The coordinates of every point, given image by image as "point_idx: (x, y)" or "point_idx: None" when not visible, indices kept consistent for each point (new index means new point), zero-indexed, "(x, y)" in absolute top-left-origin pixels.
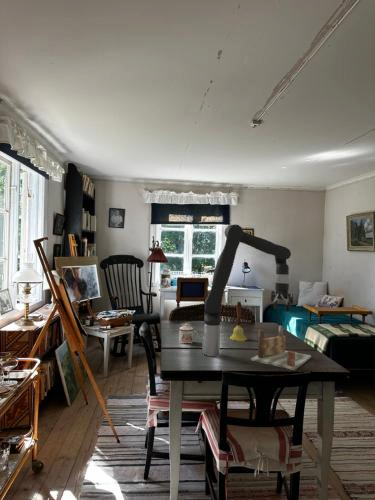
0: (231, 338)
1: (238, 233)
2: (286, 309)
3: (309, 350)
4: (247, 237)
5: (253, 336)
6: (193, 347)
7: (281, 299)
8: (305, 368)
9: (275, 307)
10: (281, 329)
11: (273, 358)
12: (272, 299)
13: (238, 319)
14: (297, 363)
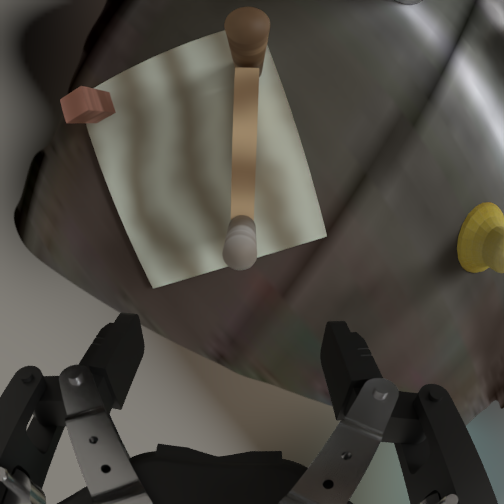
0: (494, 207)
1: None
2: (115, 324)
3: (222, 350)
4: None
5: (459, 313)
6: (480, 14)
7: (189, 453)
8: (76, 151)
9: (330, 339)
10: (227, 236)
11: (200, 105)
12: (424, 409)
13: None
14: (104, 150)
